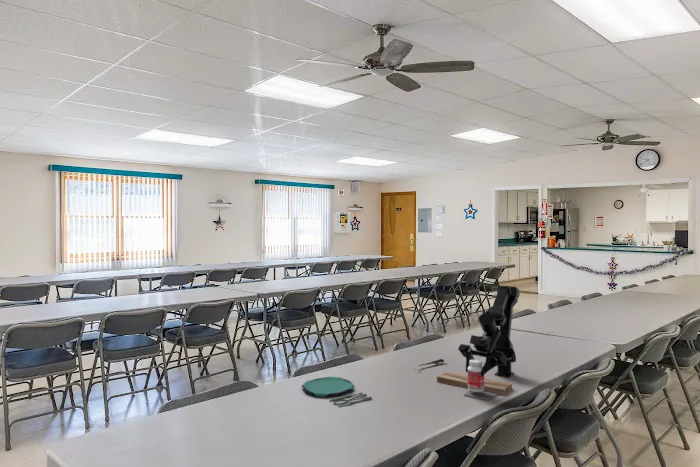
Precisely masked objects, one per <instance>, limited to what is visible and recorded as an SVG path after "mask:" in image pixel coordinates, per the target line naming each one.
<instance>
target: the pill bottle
mask: <svg viewBox="0 0 700 467" xmlns="http://www.w3.org/2000/svg"><path fill="white" fill-rule="evenodd" d="M469 364H470V366H469V367H468V372H467V375H468V388H467V389H468V391H473V392H482V391H484V388H485V387H484V379H485V374H484V375H483V376H481V375H480V374H481V370H482V368H483V361H482V360H480V359H475V358H474V359H472V360H470V361H469Z"/></svg>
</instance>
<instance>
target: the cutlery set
mask: <svg viewBox="0 0 700 467" xmlns="http://www.w3.org/2000/svg"><path fill="white" fill-rule="evenodd" d="M301 387H302V389H303V390H304V391H305V393H309V394H311V395H315V396H316V397H318V398H319V397H321V398H325V397H327V396H328V397H329V396H336V395H337V396H338V395H341V394H344V393H347V392H348V391H350V390H352V391H354V389H355V384H354V383H353V382H351V381H350V379H349V380H348V379H345V378H342V377H340V376H339V377H338V376H325V377H318V378H315V379H311V380H306V381H305V382H304V383H303V384H302V385H301ZM353 396H354V397H353ZM367 396H368V395H367V393H363V392H359V393H354V394H346V395H345V396H341V397H336V398H332V399H329V402H330V403H331V402H332V403H333V404H334V405H336V404H337V408H343V407H349V406H352V405H353V404H358V403H362V401H363V402H366V401H370V400H372V399H373V397H372V396H368V397H367ZM350 397H351V398H350ZM362 397H363V398H362ZM358 398H362V399H359V400H355V401H352V400H354V399H358ZM339 402H340V403H339Z"/></svg>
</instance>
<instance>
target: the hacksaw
mask: <svg viewBox="0 0 700 467" xmlns="http://www.w3.org/2000/svg"><path fill="white" fill-rule="evenodd" d="M444 361H445V359H443V358H439V359H437V360H433V361H431V362H426V363H422V364H419V365H417V366H419V367H422V366H425V367H422V368H420V369H416V368H414V370H415V371H418V372H419V373H415V375H416V374H421V373H422V372H421V371H423V370H425V369H431V368H434V367H437V366H442V365H444V366H446V365H448V363H447V362H444ZM431 364H432V365H431ZM426 365H430V366H426Z"/></svg>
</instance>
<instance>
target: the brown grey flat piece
mask: <svg viewBox="0 0 700 467" xmlns="http://www.w3.org/2000/svg"><path fill="white" fill-rule="evenodd" d="M436 383H441V384H445V385H449V386H450V385H451V386H456V387H460V388H461V387H462V388H467V389H468V374H462V373H456V372H451V371H446V372H444V373H442V374H440V375H438V376H437V377H436ZM484 387H485V388H484V391H482V392H473V391H470V390H468V391H467V392H465V393H464V394H463V396H464V397H468V398H472V399H478V400H481V401H482V400H483V401H487V402H490V401H491V400H493V399H494V398H496V397H497V396H498V395H500V396H505V395H506V394H508V392H510V391H511V390H513V383H510V382H505V381H504V382H503V381H500V380H499V381H498V380H494V379H488V378H484Z"/></svg>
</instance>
